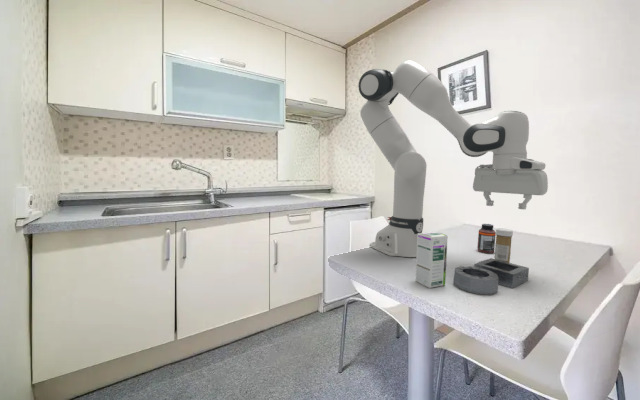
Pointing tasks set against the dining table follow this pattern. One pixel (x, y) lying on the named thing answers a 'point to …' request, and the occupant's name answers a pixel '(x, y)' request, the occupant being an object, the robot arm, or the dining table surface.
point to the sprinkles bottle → (503, 244)
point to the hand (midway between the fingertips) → (505, 207)
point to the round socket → (476, 280)
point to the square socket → (505, 272)
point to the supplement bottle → (486, 239)
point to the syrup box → (431, 259)
